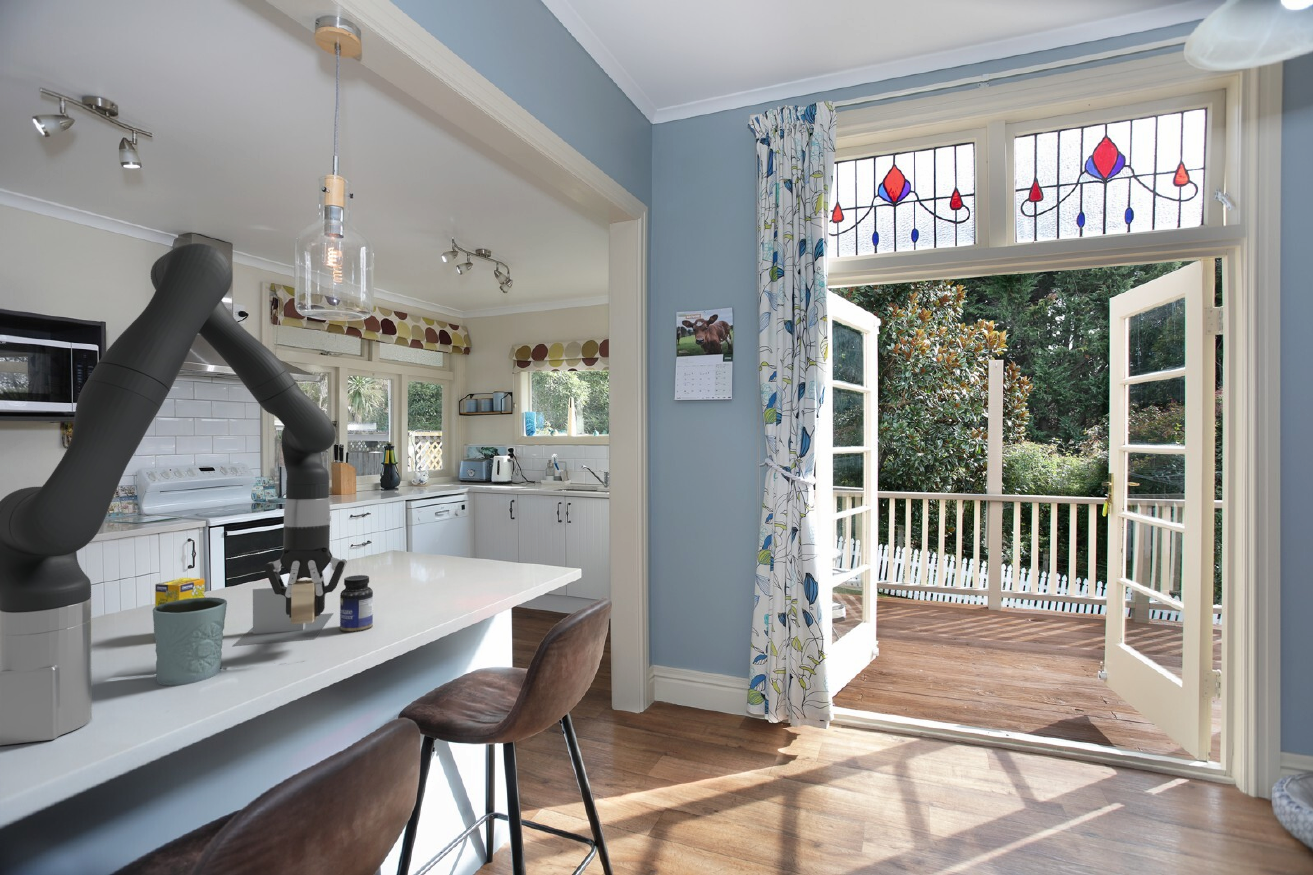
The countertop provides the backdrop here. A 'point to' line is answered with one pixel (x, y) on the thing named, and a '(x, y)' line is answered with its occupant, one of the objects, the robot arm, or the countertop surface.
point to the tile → (271, 612)
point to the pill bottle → (356, 605)
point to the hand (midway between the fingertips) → (305, 615)
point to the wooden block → (303, 602)
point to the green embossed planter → (188, 639)
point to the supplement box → (179, 590)
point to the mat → (286, 633)
